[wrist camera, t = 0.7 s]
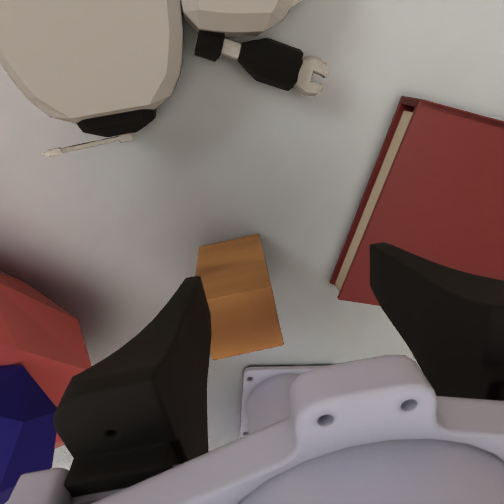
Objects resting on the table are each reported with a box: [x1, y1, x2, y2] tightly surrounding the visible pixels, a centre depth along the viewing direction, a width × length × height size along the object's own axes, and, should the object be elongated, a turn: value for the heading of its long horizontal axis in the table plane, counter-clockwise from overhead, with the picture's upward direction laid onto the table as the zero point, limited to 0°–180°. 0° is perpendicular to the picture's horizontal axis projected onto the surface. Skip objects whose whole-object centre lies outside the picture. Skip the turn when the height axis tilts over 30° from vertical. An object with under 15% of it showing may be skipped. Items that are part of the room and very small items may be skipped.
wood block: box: [196, 234, 284, 360], centre depth 22 cm, size 4×4×6 cm
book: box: [330, 96, 504, 306], centre depth 24 cm, size 18×13×2 cm
